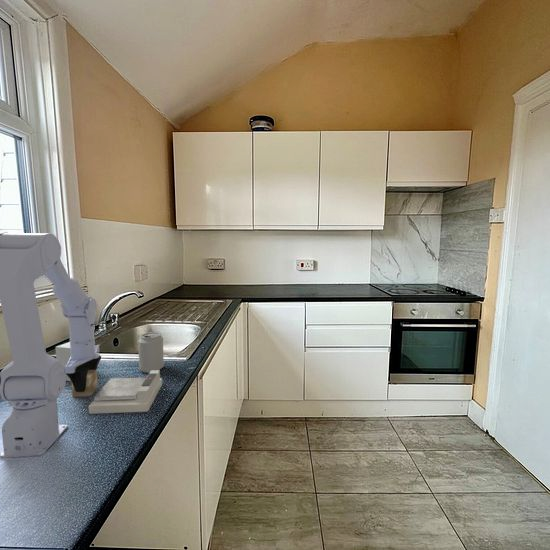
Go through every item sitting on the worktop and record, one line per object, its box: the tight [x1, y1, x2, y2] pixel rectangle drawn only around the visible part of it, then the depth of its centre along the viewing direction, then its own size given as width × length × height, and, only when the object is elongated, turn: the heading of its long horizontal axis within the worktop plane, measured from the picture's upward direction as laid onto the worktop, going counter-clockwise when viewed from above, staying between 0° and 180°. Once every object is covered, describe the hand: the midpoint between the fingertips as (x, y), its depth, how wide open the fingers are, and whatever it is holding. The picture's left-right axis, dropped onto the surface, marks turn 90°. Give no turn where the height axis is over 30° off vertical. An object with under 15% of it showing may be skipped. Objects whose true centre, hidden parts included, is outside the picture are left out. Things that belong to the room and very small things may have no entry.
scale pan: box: [93, 377, 146, 401], centre depth 82 cm, size 10×10×1 cm
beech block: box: [71, 369, 99, 398], centre depth 85 cm, size 4×4×6 cm
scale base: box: [88, 370, 163, 415], centre depth 82 cm, size 14×14×5 cm
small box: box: [55, 341, 72, 382], centre depth 94 cm, size 8×6×10 cm
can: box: [137, 331, 165, 374], centre depth 100 cm, size 8×8×12 cm
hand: (85, 386), depth 85 cm, fingers closed on beech block, 4 cm apart
